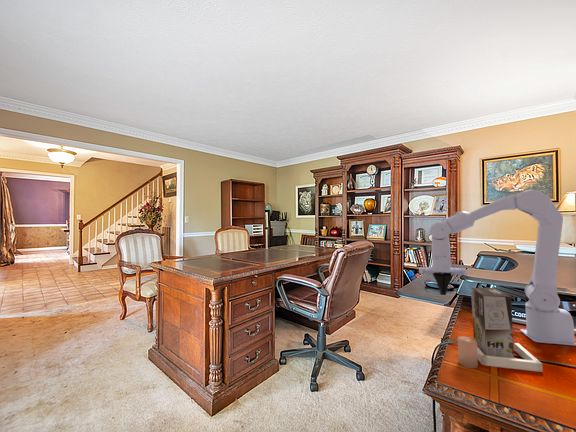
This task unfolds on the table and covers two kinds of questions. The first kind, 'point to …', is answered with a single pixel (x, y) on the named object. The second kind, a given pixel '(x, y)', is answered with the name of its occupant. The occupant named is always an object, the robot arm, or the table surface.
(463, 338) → the beige block
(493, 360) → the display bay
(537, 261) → the robot arm
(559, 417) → the table surface
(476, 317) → the coffee box
